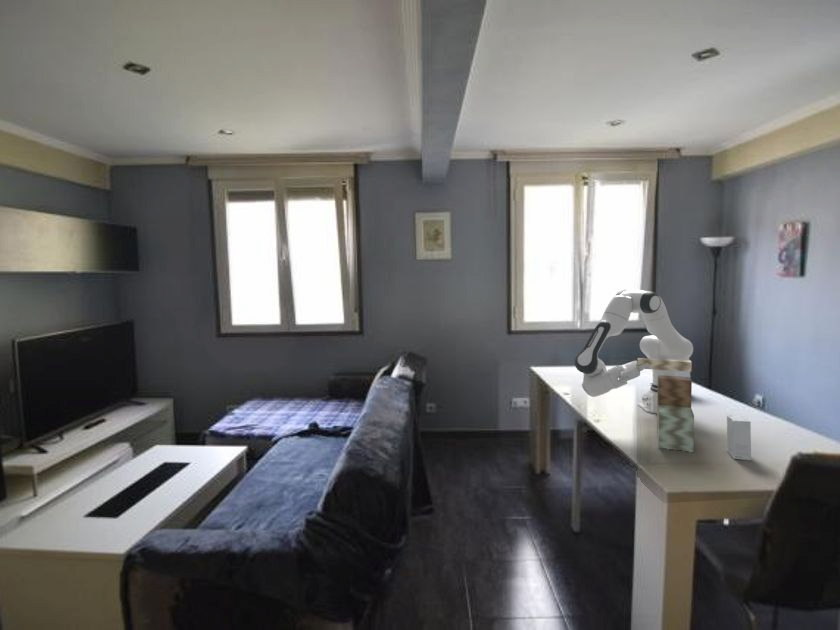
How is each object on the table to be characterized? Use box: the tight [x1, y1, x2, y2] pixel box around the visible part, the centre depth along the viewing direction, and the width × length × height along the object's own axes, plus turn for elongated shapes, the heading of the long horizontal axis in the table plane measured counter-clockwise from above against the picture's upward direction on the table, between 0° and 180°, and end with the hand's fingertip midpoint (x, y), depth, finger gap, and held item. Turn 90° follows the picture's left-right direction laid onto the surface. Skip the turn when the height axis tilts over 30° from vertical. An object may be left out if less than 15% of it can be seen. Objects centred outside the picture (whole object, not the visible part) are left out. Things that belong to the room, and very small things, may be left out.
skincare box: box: [726, 415, 752, 462], centre depth 166 cm, size 8×6×15 cm
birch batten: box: [637, 357, 693, 373], centre depth 187 cm, size 20×4×4 cm, turn 63°
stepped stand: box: [656, 375, 695, 453], centre depth 181 cm, size 12×20×26 cm, turn 153°
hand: (648, 362), depth 189 cm, fingers closed on birch batten, 4 cm apart
